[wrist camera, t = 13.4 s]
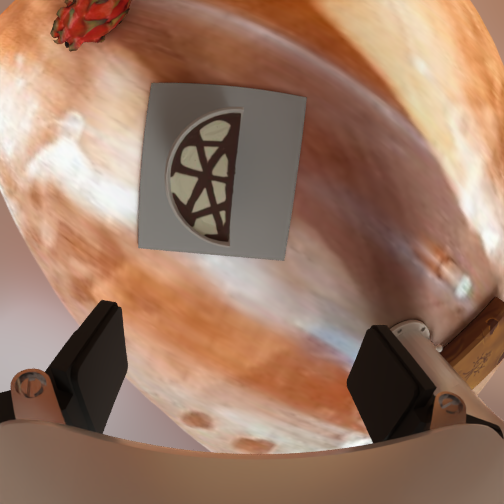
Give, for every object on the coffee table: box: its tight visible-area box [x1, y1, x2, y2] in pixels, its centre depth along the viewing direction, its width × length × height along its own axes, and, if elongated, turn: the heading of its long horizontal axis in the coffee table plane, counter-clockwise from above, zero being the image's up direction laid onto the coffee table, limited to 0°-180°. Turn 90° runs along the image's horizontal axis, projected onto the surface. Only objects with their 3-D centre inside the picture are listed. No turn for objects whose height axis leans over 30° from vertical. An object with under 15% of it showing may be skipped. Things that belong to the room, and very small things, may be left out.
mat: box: [138, 83, 307, 261], centre depth 31 cm, size 18×20×1 cm
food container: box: [165, 107, 244, 248], centre depth 26 cm, size 12×6×10 cm, turn 174°
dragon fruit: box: [50, 0, 132, 51], centre depth 20 cm, size 8×8×12 cm
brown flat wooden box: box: [439, 297, 504, 389], centre depth 45 cm, size 23×19×6 cm
